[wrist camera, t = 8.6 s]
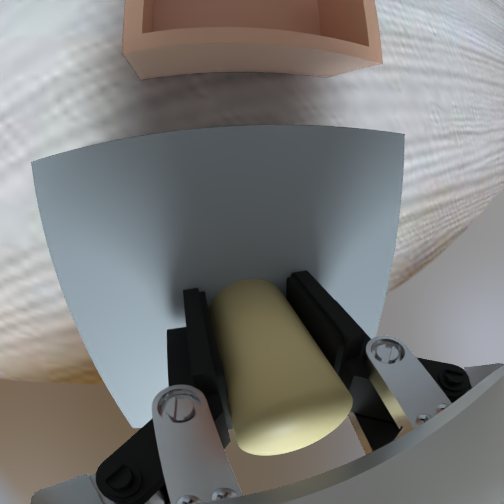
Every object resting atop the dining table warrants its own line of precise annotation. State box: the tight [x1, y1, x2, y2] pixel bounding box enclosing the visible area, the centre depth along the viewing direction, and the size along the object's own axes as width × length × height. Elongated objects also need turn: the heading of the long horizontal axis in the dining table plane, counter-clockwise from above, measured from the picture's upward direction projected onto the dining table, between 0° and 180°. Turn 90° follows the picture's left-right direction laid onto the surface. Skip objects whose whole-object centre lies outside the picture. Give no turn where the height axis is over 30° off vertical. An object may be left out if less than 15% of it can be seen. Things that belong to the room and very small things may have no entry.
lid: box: [31, 125, 405, 455], centre depth 8 cm, size 13×13×6 cm
